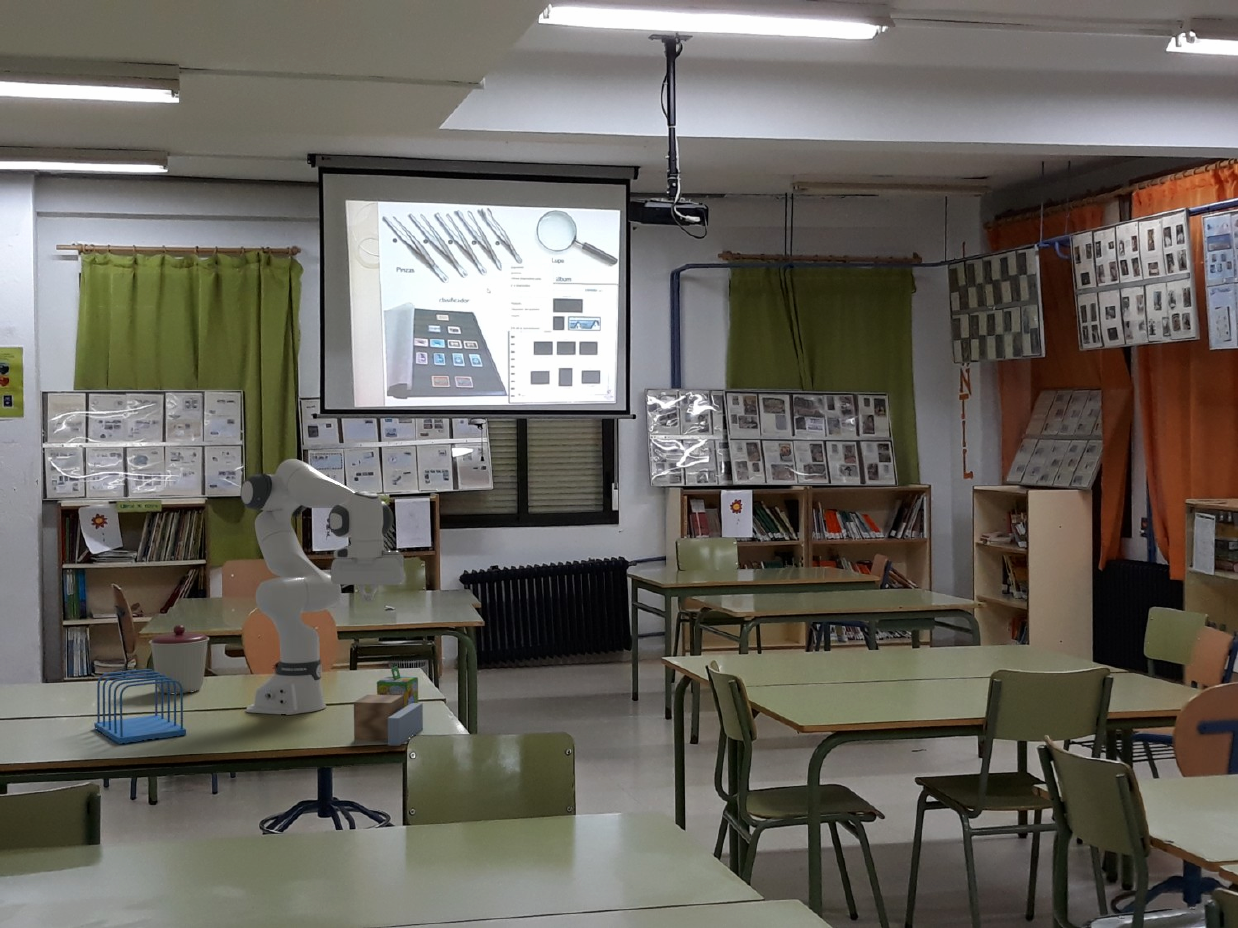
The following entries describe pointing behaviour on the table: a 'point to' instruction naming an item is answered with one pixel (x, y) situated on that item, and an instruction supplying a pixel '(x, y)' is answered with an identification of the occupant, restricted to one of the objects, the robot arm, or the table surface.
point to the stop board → (405, 724)
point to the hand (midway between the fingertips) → (368, 600)
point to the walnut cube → (375, 716)
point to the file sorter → (139, 726)
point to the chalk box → (399, 687)
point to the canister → (180, 658)
